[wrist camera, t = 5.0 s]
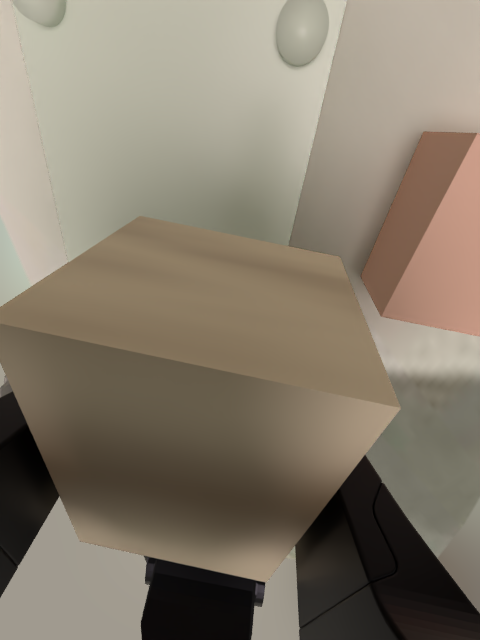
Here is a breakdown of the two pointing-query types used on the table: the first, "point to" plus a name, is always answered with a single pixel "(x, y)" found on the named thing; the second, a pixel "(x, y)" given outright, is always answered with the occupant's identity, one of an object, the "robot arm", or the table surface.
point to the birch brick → (196, 391)
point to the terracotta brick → (432, 239)
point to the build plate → (177, 109)
